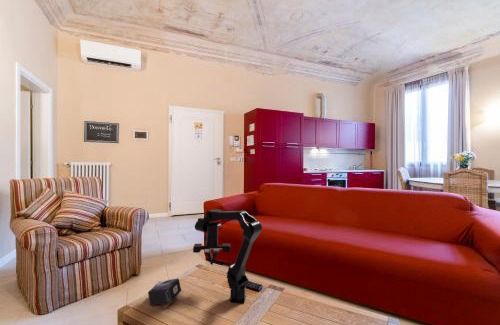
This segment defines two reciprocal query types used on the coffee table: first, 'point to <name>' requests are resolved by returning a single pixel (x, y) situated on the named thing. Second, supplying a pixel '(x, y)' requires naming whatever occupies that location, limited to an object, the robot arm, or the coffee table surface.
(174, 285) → the small box
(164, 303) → the stop rail
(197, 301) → the coffee table surface
